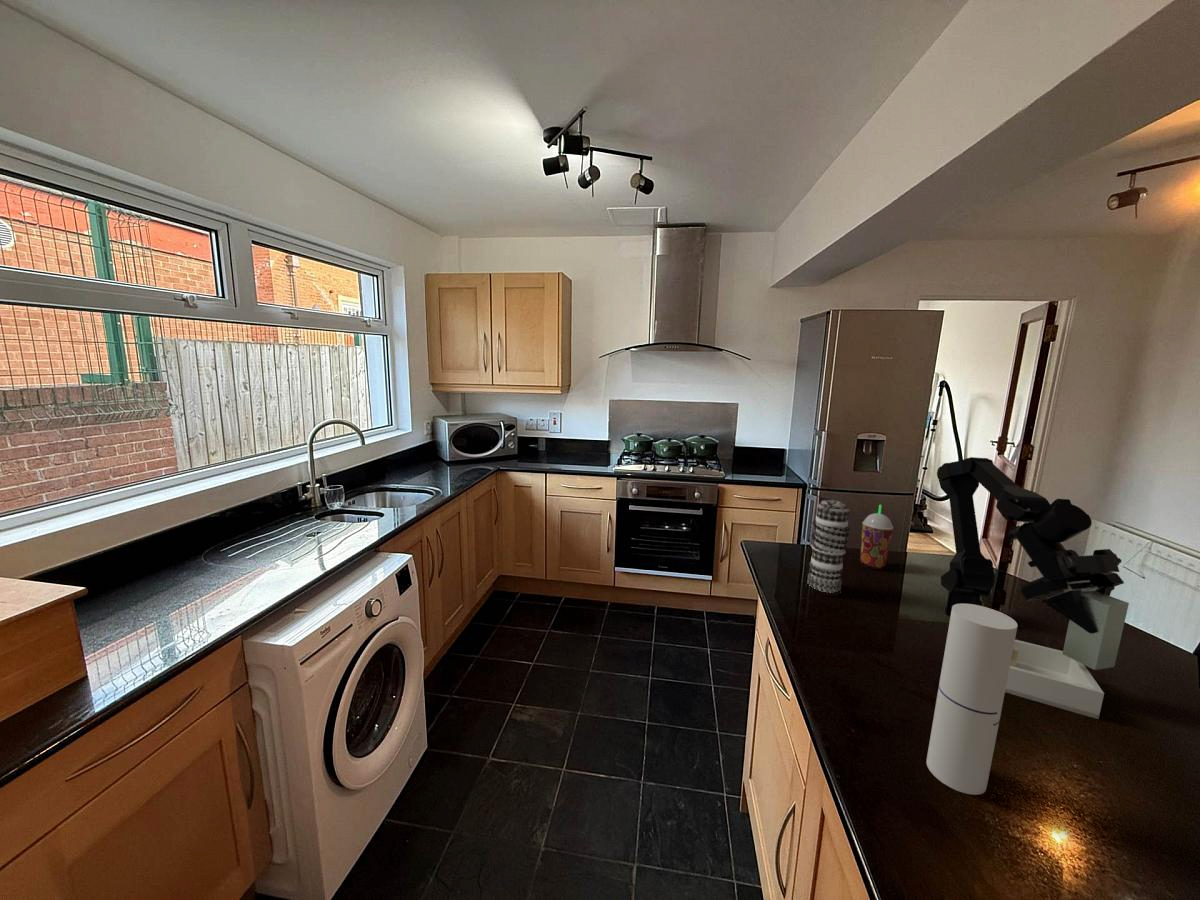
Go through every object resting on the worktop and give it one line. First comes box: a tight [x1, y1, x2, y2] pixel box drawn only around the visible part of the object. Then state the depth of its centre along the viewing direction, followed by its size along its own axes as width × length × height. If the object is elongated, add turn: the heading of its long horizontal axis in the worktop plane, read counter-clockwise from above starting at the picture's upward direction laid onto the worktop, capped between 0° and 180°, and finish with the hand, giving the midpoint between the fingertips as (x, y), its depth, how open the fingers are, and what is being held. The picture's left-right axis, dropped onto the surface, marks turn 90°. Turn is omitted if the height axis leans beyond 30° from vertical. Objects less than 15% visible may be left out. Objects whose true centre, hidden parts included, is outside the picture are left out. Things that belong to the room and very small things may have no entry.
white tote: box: [1005, 639, 1105, 720], centre depth 93 cm, size 18×14×5 cm
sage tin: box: [1062, 591, 1130, 671], centre depth 87 cm, size 5×5×12 cm
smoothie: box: [859, 504, 894, 568], centre depth 147 cm, size 8×8×20 cm
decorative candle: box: [806, 499, 851, 593], centre depth 128 cm, size 9×9×25 cm
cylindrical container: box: [926, 604, 1018, 796], centre depth 68 cm, size 7×7×25 cm
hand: (1104, 631), depth 86 cm, fingers closed on sage tin, 5 cm apart
